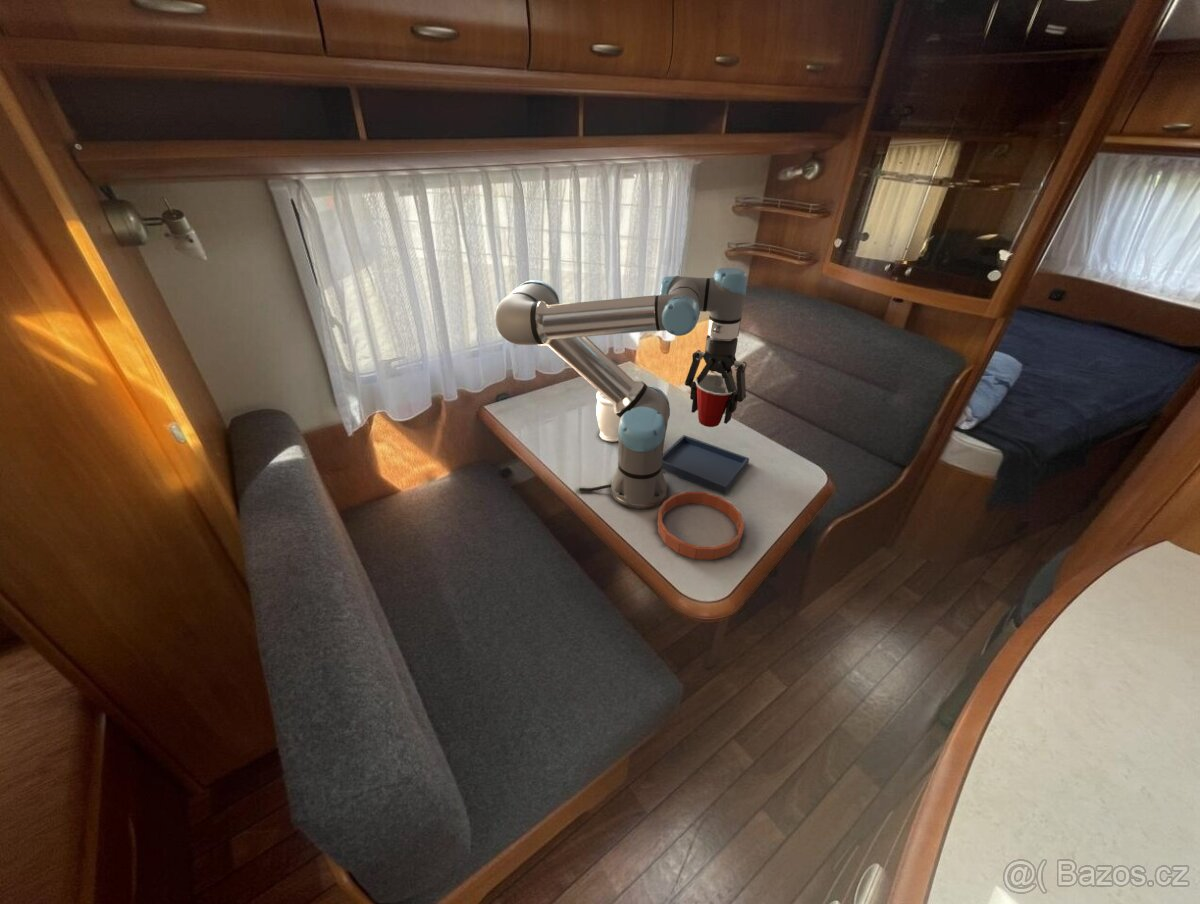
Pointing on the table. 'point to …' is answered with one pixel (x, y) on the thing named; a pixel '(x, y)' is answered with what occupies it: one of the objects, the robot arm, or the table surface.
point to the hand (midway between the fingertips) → (710, 415)
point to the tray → (704, 463)
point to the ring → (693, 550)
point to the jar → (607, 419)
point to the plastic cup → (712, 399)
